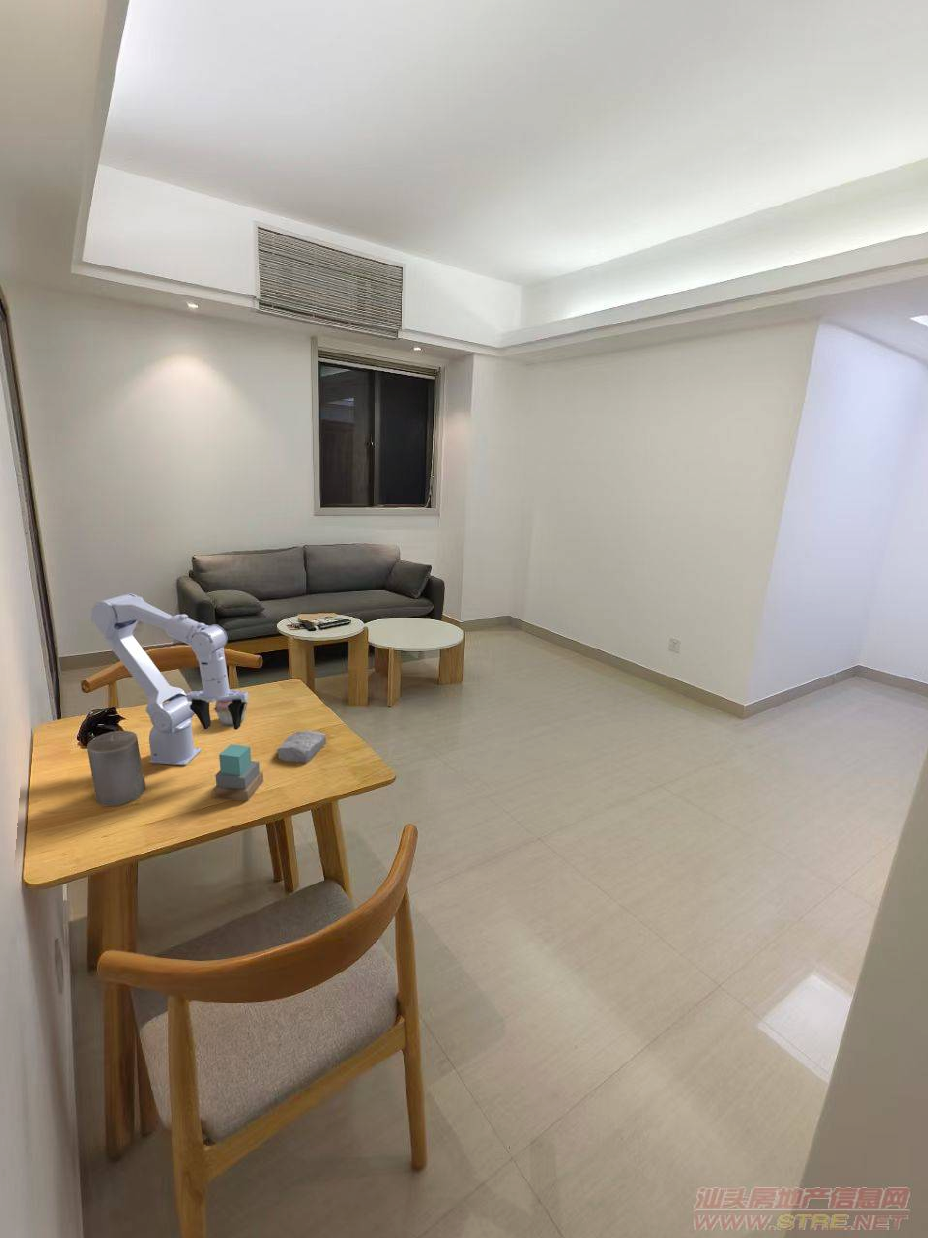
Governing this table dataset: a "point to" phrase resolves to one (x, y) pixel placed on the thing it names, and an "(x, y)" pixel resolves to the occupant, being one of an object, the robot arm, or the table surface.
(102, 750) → the pillar candle
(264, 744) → the table surface
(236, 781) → the grey block
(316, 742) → the stone block
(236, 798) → the walnut slab
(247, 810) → the table surface
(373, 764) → the table surface
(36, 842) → the table surface
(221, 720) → the cupcake
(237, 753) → the teal cube
